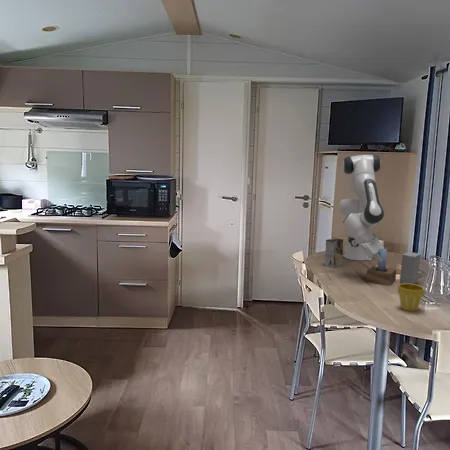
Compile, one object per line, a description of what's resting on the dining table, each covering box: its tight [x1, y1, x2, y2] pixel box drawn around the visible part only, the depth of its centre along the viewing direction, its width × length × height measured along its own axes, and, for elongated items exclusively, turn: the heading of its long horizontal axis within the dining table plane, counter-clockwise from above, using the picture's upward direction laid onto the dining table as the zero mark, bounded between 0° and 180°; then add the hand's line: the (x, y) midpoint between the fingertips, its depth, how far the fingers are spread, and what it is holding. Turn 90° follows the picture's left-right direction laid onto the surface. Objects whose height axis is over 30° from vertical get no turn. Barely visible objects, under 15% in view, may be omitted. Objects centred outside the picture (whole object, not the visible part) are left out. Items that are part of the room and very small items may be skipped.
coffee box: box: [324, 238, 344, 268], centre depth 262 cm, size 9×6×16 cm
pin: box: [377, 248, 388, 272], centre depth 228 cm, size 4×4×12 cm
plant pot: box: [397, 283, 425, 312], centre depth 187 cm, size 10×10×10 cm
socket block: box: [365, 266, 397, 287], centre depth 229 cm, size 12×12×6 cm
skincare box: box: [399, 251, 422, 284], centre depth 225 cm, size 8×7×16 cm
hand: (383, 260), depth 228 cm, fingers closed on pin, 4 cm apart
